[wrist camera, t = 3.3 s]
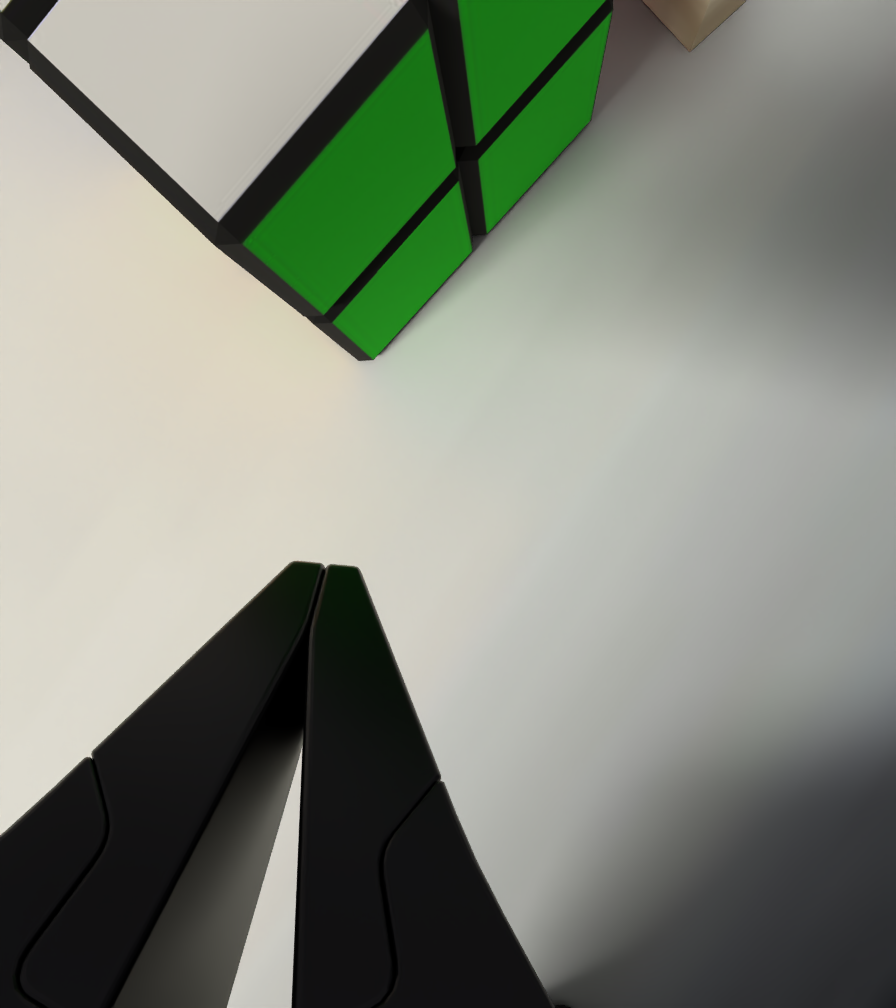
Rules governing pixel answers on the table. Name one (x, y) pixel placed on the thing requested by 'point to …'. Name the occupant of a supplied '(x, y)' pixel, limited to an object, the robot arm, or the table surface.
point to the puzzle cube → (329, 127)
